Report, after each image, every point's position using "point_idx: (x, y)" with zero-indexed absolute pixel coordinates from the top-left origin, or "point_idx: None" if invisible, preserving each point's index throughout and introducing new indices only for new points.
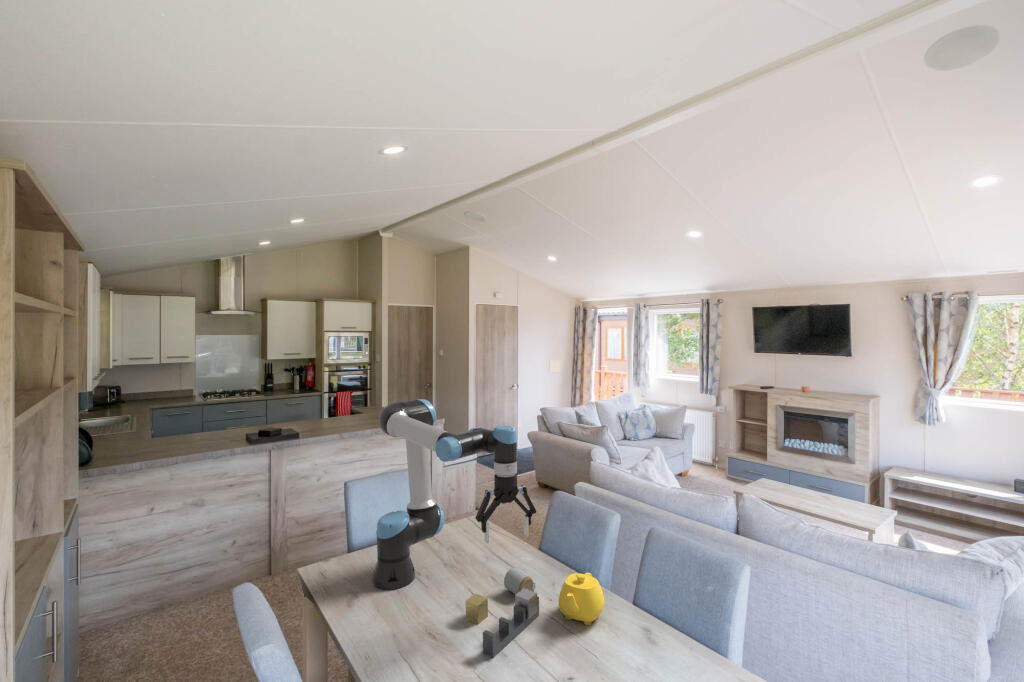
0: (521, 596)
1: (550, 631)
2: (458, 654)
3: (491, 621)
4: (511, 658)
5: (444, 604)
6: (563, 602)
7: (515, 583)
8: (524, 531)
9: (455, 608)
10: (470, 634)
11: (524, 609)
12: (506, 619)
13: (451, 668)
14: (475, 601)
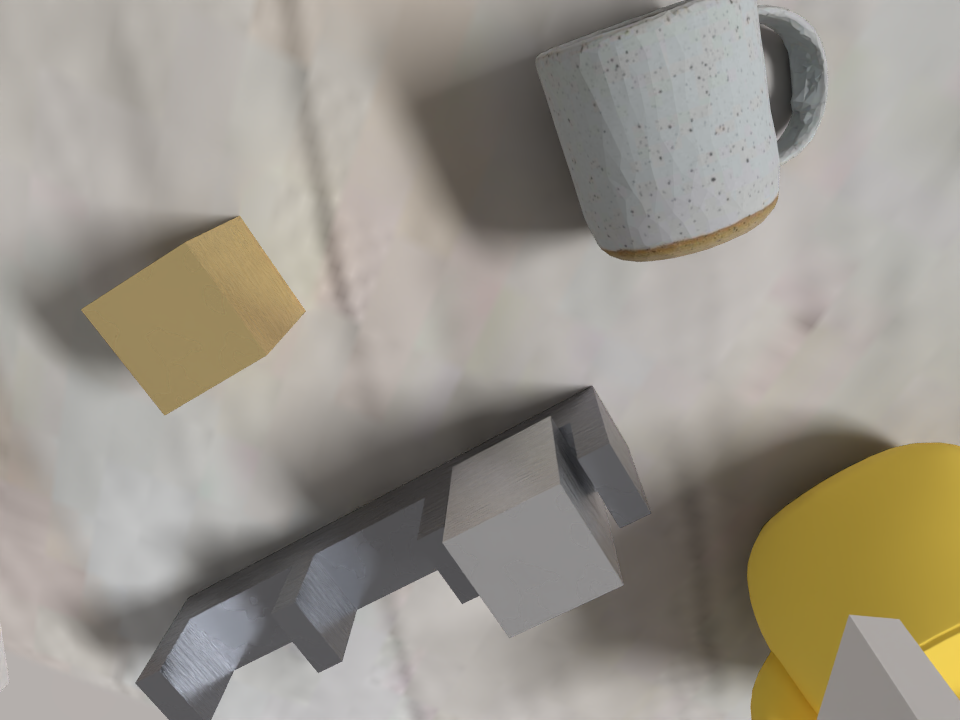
0: (482, 576)
1: (605, 596)
2: (58, 553)
3: (312, 370)
4: (316, 680)
5: (14, 4)
6: (772, 633)
7: (594, 208)
8: (868, 706)
9: (96, 104)
10: (151, 431)
11: (475, 597)
12: (316, 638)
13: (12, 624)
14: (159, 354)
